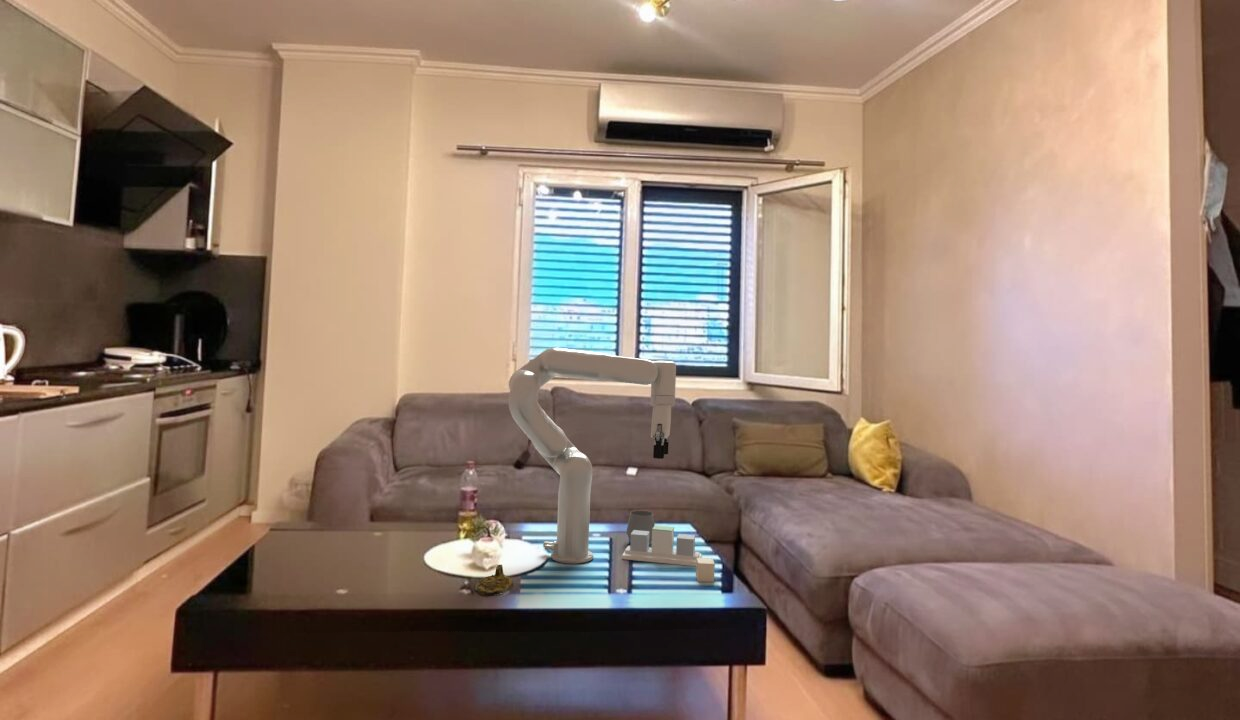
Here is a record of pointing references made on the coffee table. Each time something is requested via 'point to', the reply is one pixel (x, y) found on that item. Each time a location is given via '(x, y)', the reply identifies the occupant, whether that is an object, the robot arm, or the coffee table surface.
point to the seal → (494, 583)
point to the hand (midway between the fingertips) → (660, 456)
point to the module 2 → (705, 569)
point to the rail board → (643, 553)
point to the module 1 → (662, 539)
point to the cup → (640, 522)
